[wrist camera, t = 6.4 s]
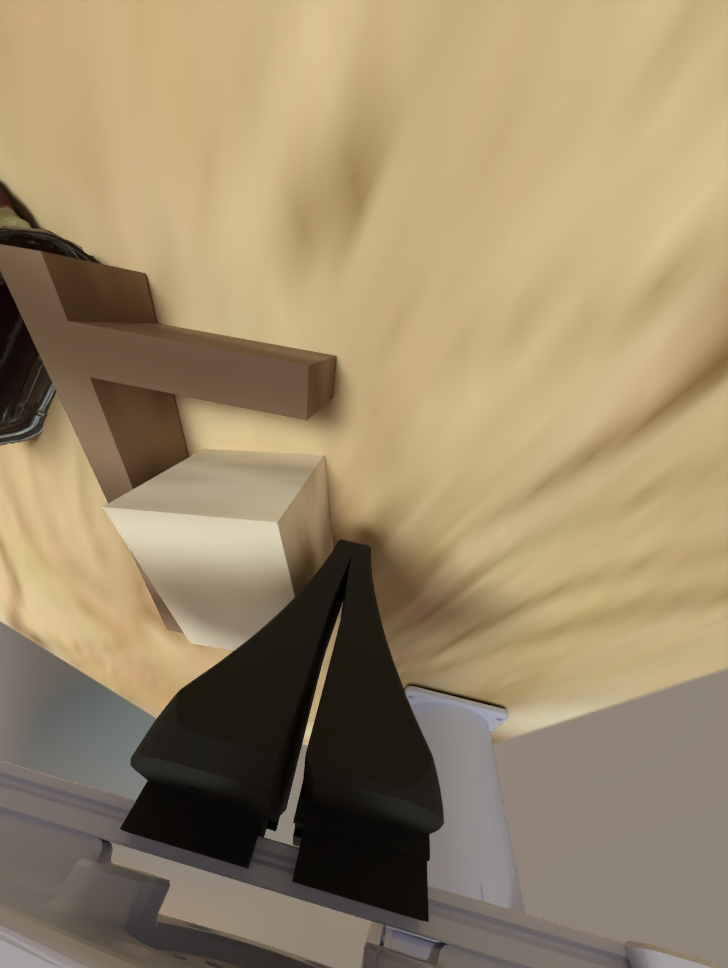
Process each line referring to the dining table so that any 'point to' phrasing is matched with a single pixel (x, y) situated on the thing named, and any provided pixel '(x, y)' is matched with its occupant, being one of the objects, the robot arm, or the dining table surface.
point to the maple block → (229, 538)
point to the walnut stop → (144, 368)
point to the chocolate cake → (24, 336)
